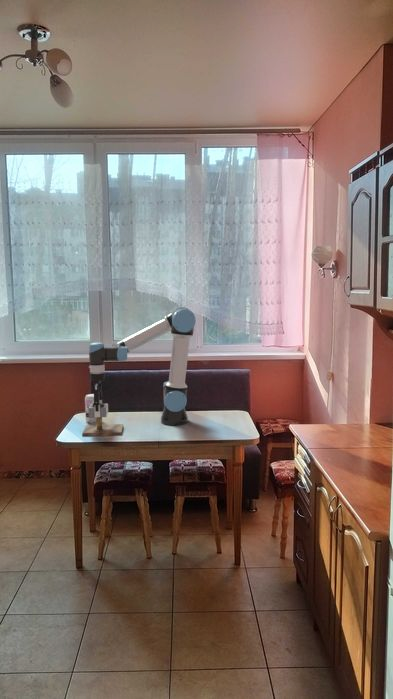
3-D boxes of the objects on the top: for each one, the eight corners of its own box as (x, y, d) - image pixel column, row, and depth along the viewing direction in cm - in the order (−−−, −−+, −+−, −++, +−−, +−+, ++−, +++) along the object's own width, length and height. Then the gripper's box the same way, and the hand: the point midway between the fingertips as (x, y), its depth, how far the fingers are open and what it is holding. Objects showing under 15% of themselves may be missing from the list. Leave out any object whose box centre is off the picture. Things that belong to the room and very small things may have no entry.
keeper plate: (123, 426, 273) (122, 409, 271) (121, 434, 259) (120, 417, 258) (86, 427, 272) (85, 410, 270) (82, 436, 258) (81, 418, 256)
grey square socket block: (108, 412, 269) (107, 403, 268) (106, 417, 260) (106, 407, 259) (91, 412, 268) (90, 403, 267) (88, 417, 259) (88, 408, 258)
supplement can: (100, 418, 289) (99, 393, 287) (100, 422, 281) (99, 396, 279) (86, 419, 288) (85, 393, 286) (85, 423, 280) (84, 397, 278)
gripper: (92, 368, 271) (94, 409, 274) (86, 376, 249) (88, 420, 253) (106, 368, 271) (107, 408, 275) (102, 376, 250) (103, 420, 253)
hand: (98, 414), depth 264 cm, fingers closed on grey square socket block, 9 cm apart
